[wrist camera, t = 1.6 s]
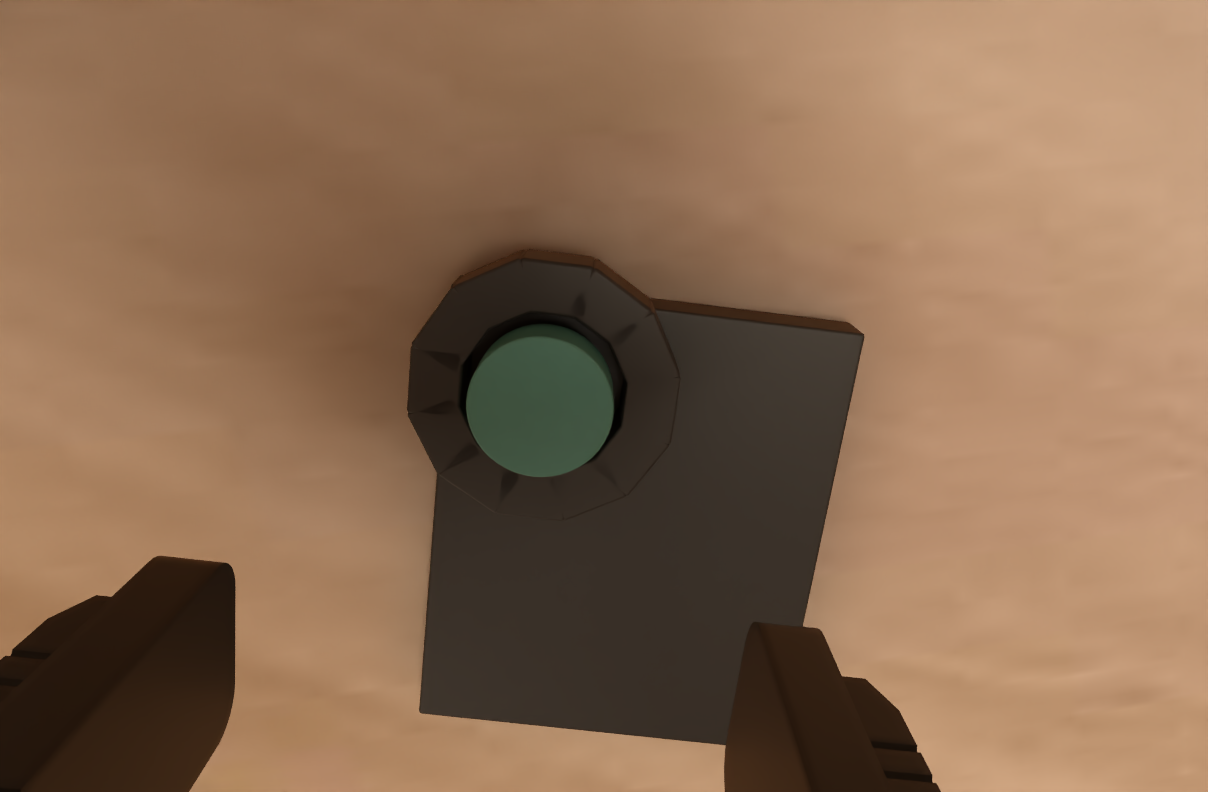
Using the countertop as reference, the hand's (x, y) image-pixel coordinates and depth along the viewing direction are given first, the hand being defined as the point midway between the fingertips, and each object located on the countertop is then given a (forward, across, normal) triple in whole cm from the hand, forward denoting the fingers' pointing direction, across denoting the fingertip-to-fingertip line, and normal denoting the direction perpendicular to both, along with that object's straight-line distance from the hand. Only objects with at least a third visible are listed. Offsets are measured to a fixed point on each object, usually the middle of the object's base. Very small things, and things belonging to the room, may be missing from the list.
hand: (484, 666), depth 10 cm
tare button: (+11, 0, 0) cm, 11 cm away
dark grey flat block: (+14, -2, +4) cm, 14 cm away
